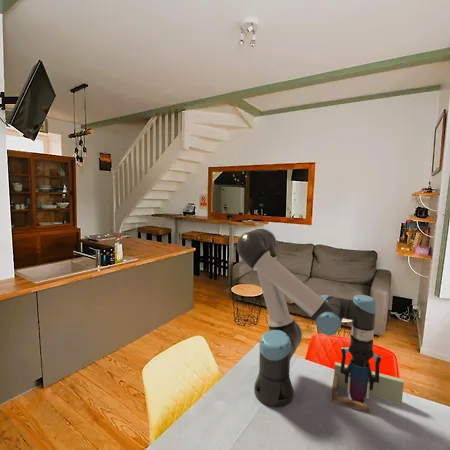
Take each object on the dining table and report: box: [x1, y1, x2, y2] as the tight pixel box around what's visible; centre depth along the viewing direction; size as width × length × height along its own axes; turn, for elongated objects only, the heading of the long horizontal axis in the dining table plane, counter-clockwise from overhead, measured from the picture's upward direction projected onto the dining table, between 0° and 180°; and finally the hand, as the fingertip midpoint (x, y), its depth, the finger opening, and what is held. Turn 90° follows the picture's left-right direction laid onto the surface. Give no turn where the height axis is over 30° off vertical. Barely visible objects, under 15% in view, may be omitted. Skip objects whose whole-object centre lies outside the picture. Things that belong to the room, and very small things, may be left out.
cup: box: [349, 358, 371, 404], centre depth 108 cm, size 7×7×15 cm
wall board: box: [333, 361, 405, 405], centre depth 111 cm, size 24×2×9 cm, turn 64°
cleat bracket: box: [330, 373, 371, 414], centre depth 109 cm, size 13×10×5 cm
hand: (357, 393), depth 108 cm, fingers closed on cup, 6 cm apart
